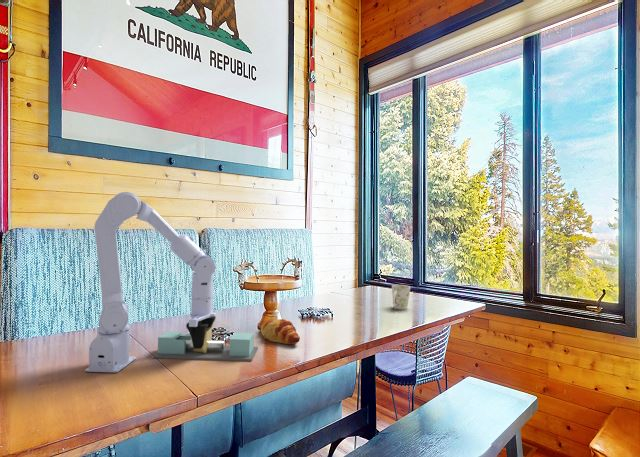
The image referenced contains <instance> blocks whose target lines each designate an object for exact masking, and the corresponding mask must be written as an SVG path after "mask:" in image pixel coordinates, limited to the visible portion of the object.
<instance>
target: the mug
mask: <svg viewBox="0 0 640 457" xmlns="http://www.w3.org/2000/svg"><path fill="white" fill-rule="evenodd" d="M410 292H411V286H410V285H407V284H392V285H391V295H392V305H393V308H394V309H395V310H402V311H403V310H408V304H409V298H410Z"/></svg>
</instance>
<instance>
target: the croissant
mask: <svg viewBox="0 0 640 457" xmlns="http://www.w3.org/2000/svg"><path fill="white" fill-rule="evenodd" d="M260 331H261V332H260V333H261V335H262V336H263V339H266V340H268V341H270V342H272V343H279V344H280V343H281V344H283V345H294V344H297V343H299V342H300V339H301V337H300V336H299V334H298V332H297V329H296V327H295V326H294V325H293V323H292V321H290V320H288V319H286V318H281V319H280V318H279V319H270V320H267V321H264V322H263V323H262V324H261V326H260Z"/></svg>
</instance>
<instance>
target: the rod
mask: <svg viewBox="0 0 640 457" xmlns="http://www.w3.org/2000/svg"><path fill="white" fill-rule="evenodd" d="M212 328H213V326H212V327H209V328H207V329H206V331H205V335H204V341H203V346H202V348H201V349H194V347H193V343H192V340H186V350H194V352H203V353H207V352H208V351H224V349H225V346H226V341H225V340H213V339H212V337H213V334H212V333H213V332H212V331H213V329H212ZM175 340H182V339H175Z"/></svg>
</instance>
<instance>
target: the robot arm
mask: <svg viewBox="0 0 640 457" xmlns="http://www.w3.org/2000/svg"><path fill="white" fill-rule="evenodd" d="M136 215H137V216H136ZM134 216H136V219H137V220H140V221H143V222H146V223H148V224H149V226H150V225H151V227H153V229H154V230H156V231H157V232H158V233H159V234H160V235H161V236H163V237H164V238H165V239H166V240H167V241H168V242H170V248H169V249H170V251H171V252H172V253H174V255H175V256H177V258H179V259H180V260H181V261H183V263H184V264H185V265H187V266H189V267H190V269H191V271H193V272H192V281H191V297H190V298H191V300H190V301H191V302H190V304H191V306H190V307H191V308H190V309H191V310H190V313H189V314H190V315H189V317H190V318H189V319H188V322H187V323H186V324H185V325H186V329H187V331H188V332H189V333H188V334H189V335H191V338H192V343H193V347H194V349H201V348H202V346H203V341H204V335H205V331H206V329H207V328H209V327H212V328H213V324H214V322H215V321H216V316H217V312H214V310H213V308H214V307H213V300H214V298H213V297H214V281H213V279H214V273H215V271H216V268H217V265H216V264H215V261H214V259H213V258H212V257H210V256H208V254H206V253H207V251H206V250H205V249H204V248H203V249H202V248H201V247H200V246H198V245H197V243H195V242H194V241H195V238H193V237H192V236H189V235H187V234H179V233H178V232H177V231H176V229H174V228H173V227H172V225H170V224H169V223H168V222H167V221H166V220H165V219H164V218H163V217H162V216H161V215H160V213H158V211H157V210H155V209H154V208H153V207H151V205H149V203H147V202H145V201H143V200H140V198H139V197H138V196H137V195H136V194H135V193H133V192H129V191H124V192H122V191H121V192H118V193H117V194H116V195H115V196H114V197H113V196H112V198H111V199H110V200H107V203H106V205H105V206H104V208H103V210H102V211H101V212H100V214H99V216H98V217H97V219H96V221H95V222H94V227H93V228H94V235H95V243H96V253H97V254H96V255H97V263H98V270H99V271H98V272H99V281H100V289H101V307H102V308H101V309H102V310H101V314H100V316H99V321H98V322H99V323H98V324H99V327H98V328H97V335H96V337H95V338H94V339H93V340H92V341H91V342H90V344H89V346H88V347H89V350H88V367H87V368H85V369H84V371H85V372H87V373H89V372H90V373H91V372H93V373H94V372H95V373H119V372H120V371H122V370H123V369H125V367H127V366H128V365H130V364H131V363H132V362H134V361H135V360H137V356H130V348H131V347H130V346H131V344H130V342H131V325H129V306H128V305H127V303H125V301H124V294H123V288H122V279H121V277H122V276H121V270H120V260H119V250H118V241H117V240H118V239H117V229H119V227H121V225H123V223H124V222H125V221H127V220H129V219H130V218H132V217H134Z"/></svg>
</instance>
